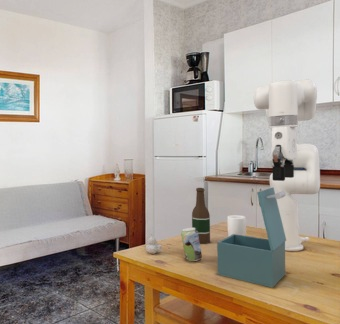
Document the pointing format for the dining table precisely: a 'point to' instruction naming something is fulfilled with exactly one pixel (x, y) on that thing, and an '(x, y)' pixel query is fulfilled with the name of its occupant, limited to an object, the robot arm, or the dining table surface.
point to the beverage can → (191, 244)
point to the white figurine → (152, 245)
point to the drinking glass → (236, 225)
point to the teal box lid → (272, 216)
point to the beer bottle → (201, 217)
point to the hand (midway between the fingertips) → (283, 178)
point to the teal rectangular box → (250, 260)
